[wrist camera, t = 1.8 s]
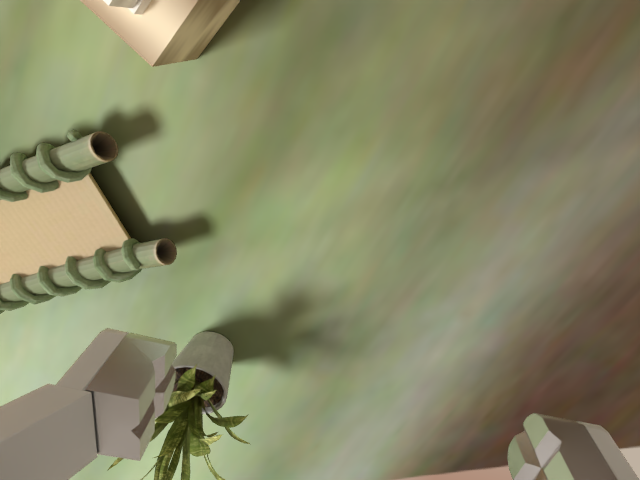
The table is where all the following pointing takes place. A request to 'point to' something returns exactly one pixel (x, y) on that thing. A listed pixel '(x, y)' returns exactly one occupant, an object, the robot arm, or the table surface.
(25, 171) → the stretcher
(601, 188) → the table surface
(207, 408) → the house plant
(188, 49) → the tan stepped block
